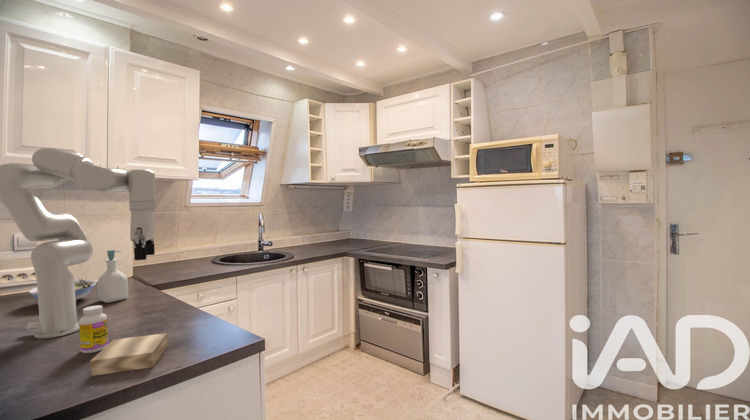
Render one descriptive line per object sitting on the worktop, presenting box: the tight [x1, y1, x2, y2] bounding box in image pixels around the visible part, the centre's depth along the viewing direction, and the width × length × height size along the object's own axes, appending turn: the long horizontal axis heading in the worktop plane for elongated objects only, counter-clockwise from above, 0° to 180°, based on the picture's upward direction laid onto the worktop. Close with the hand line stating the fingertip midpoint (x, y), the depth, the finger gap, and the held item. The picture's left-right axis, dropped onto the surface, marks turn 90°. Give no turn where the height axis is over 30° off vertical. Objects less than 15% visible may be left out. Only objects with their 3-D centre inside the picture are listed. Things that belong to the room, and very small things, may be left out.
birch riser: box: [90, 332, 169, 377], centre depth 99 cm, size 14×14×4 cm
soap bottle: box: [96, 249, 129, 304], centre depth 158 cm, size 10×10×23 cm
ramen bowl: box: [28, 277, 98, 301], centre depth 156 cm, size 25×23×8 cm
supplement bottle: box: [78, 304, 109, 354], centre depth 106 cm, size 7×7×13 cm
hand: (145, 257), depth 118 cm, fingers open, 9 cm apart
